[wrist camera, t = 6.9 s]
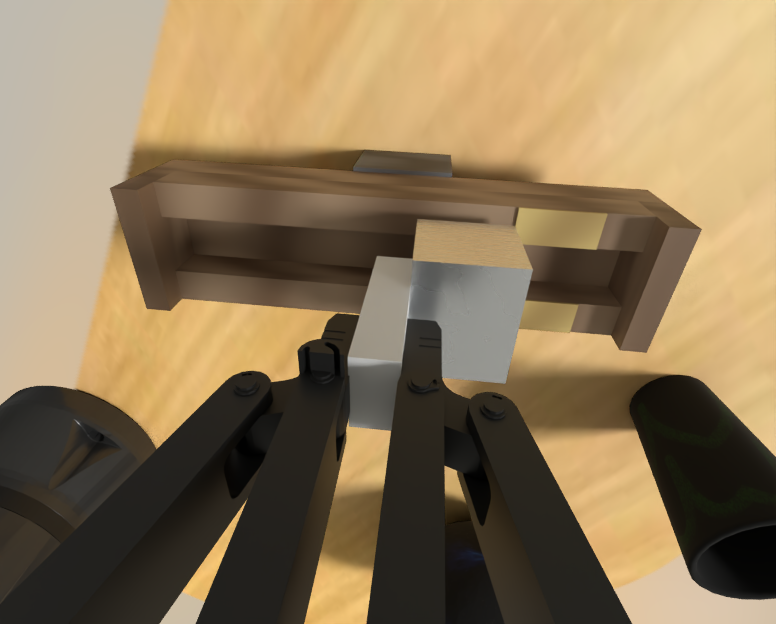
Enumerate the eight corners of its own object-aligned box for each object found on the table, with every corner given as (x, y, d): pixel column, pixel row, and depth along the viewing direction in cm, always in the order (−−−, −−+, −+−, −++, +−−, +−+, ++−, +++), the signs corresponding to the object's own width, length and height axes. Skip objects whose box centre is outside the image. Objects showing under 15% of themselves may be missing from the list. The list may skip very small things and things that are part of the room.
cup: (723, 351, 30) (867, 509, 20) (728, 426, 34) (853, 592, 24) (606, 379, 32) (682, 533, 22) (622, 446, 36) (694, 606, 26)
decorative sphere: (397, 481, 41) (378, 677, 29) (560, 492, 40) (617, 704, 27) (399, 567, 49) (386, 749, 37) (536, 578, 48) (571, 773, 35)
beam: (224, 240, 29) (147, 312, 22) (206, 140, 26) (108, 183, 18) (587, 267, 28) (645, 356, 20) (620, 165, 24) (703, 224, 17)
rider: (412, 292, 23) (403, 374, 17) (419, 199, 20) (412, 260, 15) (489, 298, 23) (505, 383, 17) (506, 205, 20) (532, 269, 14)
